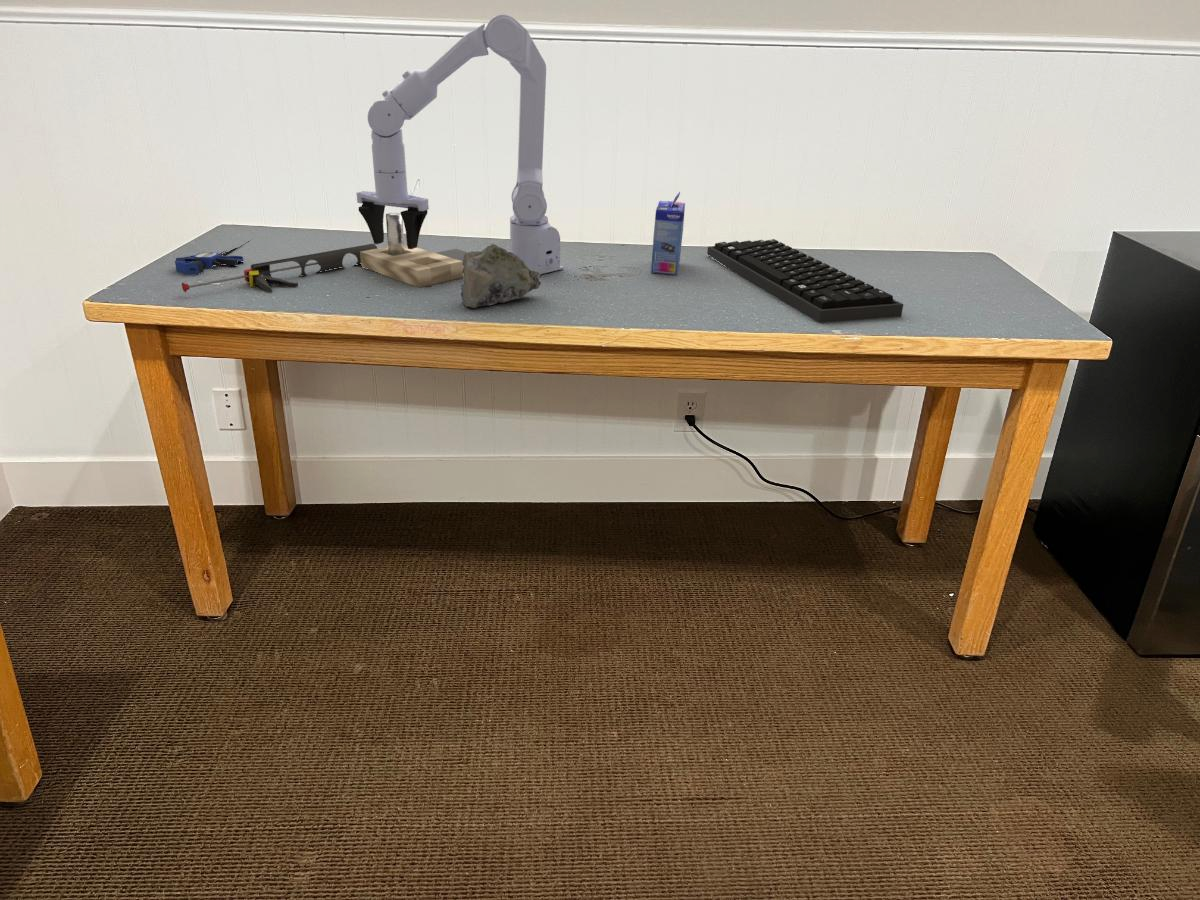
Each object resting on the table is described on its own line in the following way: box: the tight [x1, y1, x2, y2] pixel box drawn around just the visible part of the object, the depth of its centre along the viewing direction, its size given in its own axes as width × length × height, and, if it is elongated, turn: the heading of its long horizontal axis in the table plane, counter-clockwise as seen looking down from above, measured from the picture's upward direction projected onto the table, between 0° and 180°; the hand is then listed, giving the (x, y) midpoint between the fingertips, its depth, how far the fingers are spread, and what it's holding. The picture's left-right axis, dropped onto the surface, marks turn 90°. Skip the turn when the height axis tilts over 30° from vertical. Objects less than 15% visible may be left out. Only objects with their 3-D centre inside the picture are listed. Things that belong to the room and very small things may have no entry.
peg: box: [385, 212, 405, 256], centre depth 163 cm, size 3×3×10 cm
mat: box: [436, 248, 468, 266], centre depth 172 cm, size 10×10×1 cm
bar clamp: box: [174, 251, 244, 275], centre depth 171 cm, size 32×2×10 cm
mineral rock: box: [460, 243, 542, 309], centre depth 145 cm, size 13×11×10 cm
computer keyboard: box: [706, 238, 904, 324], centre depth 163 cm, size 45×16×4 cm, turn 18°
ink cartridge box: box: [650, 191, 686, 276], centre depth 168 cm, size 10×6×14 cm, turn 173°
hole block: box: [360, 243, 464, 288], centre depth 162 cm, size 18×10×3 cm, turn 47°
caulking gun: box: [181, 243, 378, 293], centre depth 156 cm, size 4×37×10 cm
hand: (395, 245), depth 163 cm, fingers open, 7 cm apart
